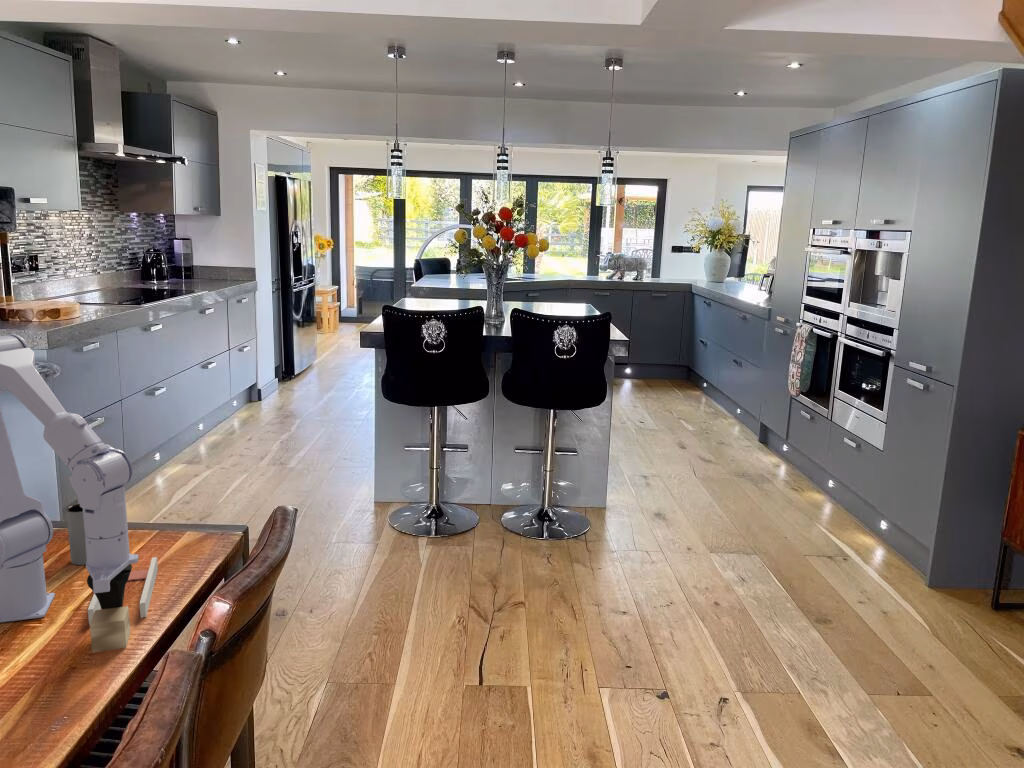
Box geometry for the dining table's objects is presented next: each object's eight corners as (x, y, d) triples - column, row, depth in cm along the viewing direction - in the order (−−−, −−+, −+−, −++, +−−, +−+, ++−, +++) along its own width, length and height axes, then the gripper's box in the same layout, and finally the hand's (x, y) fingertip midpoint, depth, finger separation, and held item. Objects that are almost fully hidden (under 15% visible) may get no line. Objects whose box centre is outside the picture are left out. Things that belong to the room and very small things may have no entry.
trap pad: (111, 583, 133) (111, 581, 133) (114, 574, 137) (114, 572, 136) (149, 578, 135) (149, 577, 135) (151, 570, 138) (151, 568, 138)
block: (92, 653, 112) (89, 624, 111) (97, 637, 116) (95, 610, 115) (126, 648, 113) (124, 620, 112) (130, 633, 118) (128, 606, 117)
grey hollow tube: (90, 565, 140) (85, 512, 138) (65, 565, 140) (60, 511, 138) (104, 555, 144) (99, 503, 142) (80, 554, 144) (75, 502, 142)
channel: (88, 624, 120) (87, 609, 119) (108, 575, 136) (106, 562, 136) (146, 617, 122) (145, 602, 122) (157, 569, 139) (157, 556, 138)
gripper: (129, 548, 109) (135, 635, 112) (141, 512, 123) (147, 590, 126) (73, 553, 107) (81, 642, 110) (92, 516, 121) (99, 596, 123)
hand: (113, 615), depth 118 cm, fingers closed
